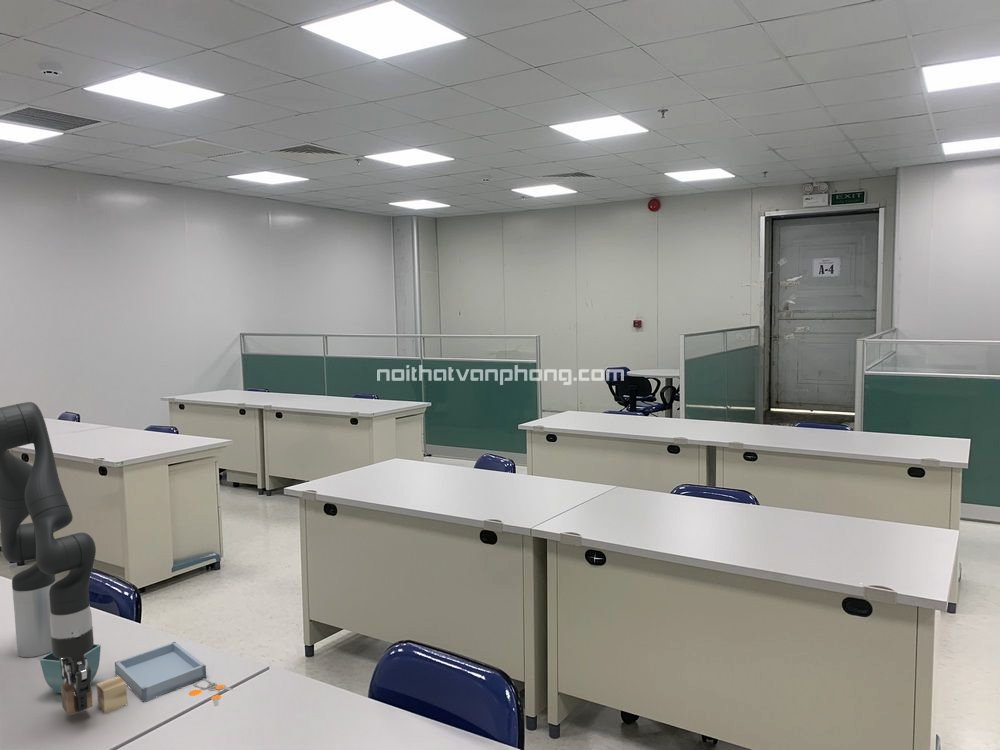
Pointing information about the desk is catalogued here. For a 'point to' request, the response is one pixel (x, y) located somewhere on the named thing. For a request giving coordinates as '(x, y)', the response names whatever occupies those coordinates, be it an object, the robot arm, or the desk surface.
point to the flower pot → (53, 669)
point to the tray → (160, 670)
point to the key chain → (215, 698)
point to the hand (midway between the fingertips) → (77, 705)
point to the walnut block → (72, 698)
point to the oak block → (112, 694)
